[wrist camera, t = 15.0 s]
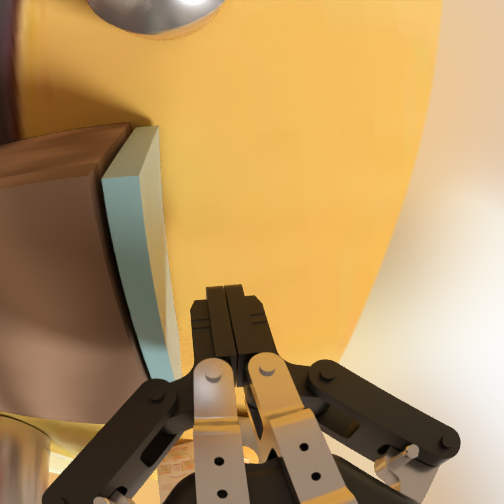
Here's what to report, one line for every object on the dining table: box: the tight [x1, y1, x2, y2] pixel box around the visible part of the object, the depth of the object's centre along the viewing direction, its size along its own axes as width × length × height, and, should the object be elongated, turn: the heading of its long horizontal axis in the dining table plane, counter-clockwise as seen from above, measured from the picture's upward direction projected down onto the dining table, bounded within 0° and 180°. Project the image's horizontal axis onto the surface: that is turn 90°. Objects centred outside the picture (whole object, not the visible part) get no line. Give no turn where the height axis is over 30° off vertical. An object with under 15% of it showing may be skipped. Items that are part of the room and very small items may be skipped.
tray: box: [102, 126, 182, 382], centre depth 12 cm, size 17×14×6 cm
